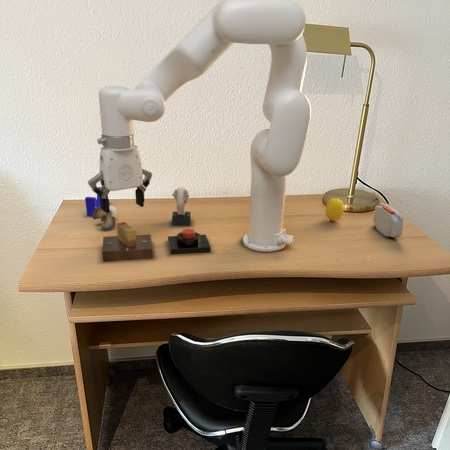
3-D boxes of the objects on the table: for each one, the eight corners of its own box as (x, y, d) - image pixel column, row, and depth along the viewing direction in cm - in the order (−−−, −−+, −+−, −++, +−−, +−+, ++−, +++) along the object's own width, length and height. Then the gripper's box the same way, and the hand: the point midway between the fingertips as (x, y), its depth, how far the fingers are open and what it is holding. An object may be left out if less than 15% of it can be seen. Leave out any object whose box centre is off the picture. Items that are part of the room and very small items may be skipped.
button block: (205, 239, 144) (205, 228, 142) (210, 252, 136) (210, 240, 134) (168, 241, 142) (167, 230, 140) (170, 254, 134) (170, 243, 132)
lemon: (336, 217, 162) (339, 193, 158) (344, 223, 157) (348, 199, 153) (321, 219, 160) (324, 195, 156) (329, 225, 156) (332, 200, 152)
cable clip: (100, 217, 158) (98, 199, 155) (87, 216, 158) (84, 198, 155) (113, 204, 168) (111, 187, 165) (100, 204, 168) (98, 186, 165)
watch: (190, 218, 158) (190, 185, 153) (190, 228, 151) (189, 193, 146) (173, 218, 158) (172, 185, 152) (171, 228, 151) (170, 193, 145)
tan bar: (136, 245, 132) (135, 228, 129) (128, 247, 130) (127, 230, 128) (125, 237, 136) (124, 221, 134) (117, 239, 135) (116, 223, 133)
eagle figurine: (88, 217, 154) (87, 222, 146) (99, 197, 153) (98, 201, 144) (110, 229, 157) (110, 235, 148) (121, 209, 155) (121, 214, 147)
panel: (151, 243, 140) (150, 233, 139) (152, 259, 131) (152, 248, 130) (104, 246, 138) (103, 235, 137) (103, 262, 129) (101, 251, 128)
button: (194, 234, 139) (194, 228, 138) (195, 239, 136) (195, 233, 135) (181, 234, 139) (181, 228, 138) (182, 239, 135) (182, 233, 135)
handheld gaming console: (400, 241, 145) (406, 216, 141) (391, 242, 145) (397, 216, 141) (378, 223, 158) (382, 199, 154) (369, 224, 157) (373, 200, 153)
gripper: (91, 148, 113) (98, 219, 121) (157, 141, 122) (159, 207, 130) (78, 142, 118) (86, 210, 127) (142, 135, 127) (145, 199, 136)
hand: (123, 208), depth 129 cm, fingers open, 9 cm apart
